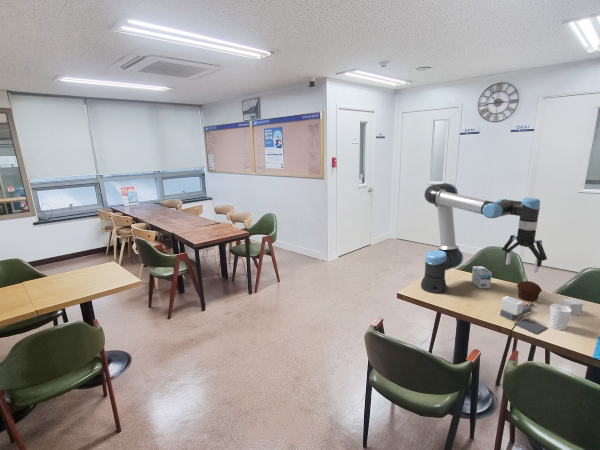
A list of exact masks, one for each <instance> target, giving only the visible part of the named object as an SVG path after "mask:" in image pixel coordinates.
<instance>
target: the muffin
mask: <svg viewBox="0 0 600 450" xmlns="http://www.w3.org/2000/svg"><path fill="white" fill-rule="evenodd" d="M516 287H517V290H518V291H517V295H518V296H517V297H518V299H520V301H523V302H527V301H528V303H530V302H531V303H535V302H537V301H538V299H539V295H540V293H541V292H542V291H543V290H542V288H541V287H540V286H539V284H537V283H536V282H533V281H531V280H530V281H529V280H523V281H520V282H519V283H518V284H517V285H516ZM534 301H535V302H534Z"/></svg>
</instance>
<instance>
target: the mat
mask: <svg viewBox="0 0 600 450" xmlns="http://www.w3.org/2000/svg"><path fill="white" fill-rule="evenodd" d="M513 325H514V326H516V327H518V326H519V328H521V329H523V328H524V329H523V330H525V329H526V330H525V331H527V330H528V331H527V332H530V333H532V334H535V335H537V334H540V333H542V332H543V331H545V330H547V329H548V327H547V326H546V325H543V324H540V323H538V322H536V321H533V320H531V319H529V318H526V317H524V318H522V319H520V320H518V321H516V322H514V323H513Z"/></svg>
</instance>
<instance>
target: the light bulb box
mask: <svg viewBox="0 0 600 450" xmlns="http://www.w3.org/2000/svg"><path fill="white" fill-rule="evenodd" d="M492 274H493V272H492V271H490V270H489V269H487V268H486V267H484V266H482V265H481V266H478V265H477V266H475V265H474V266H472V274H471V282H470V283H473V284H474V285H475V287H478V288H479V289H491V283H492V276H493V275H492Z"/></svg>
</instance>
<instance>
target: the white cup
mask: <svg viewBox="0 0 600 450" xmlns="http://www.w3.org/2000/svg"><path fill="white" fill-rule="evenodd" d="M571 311H572V310H571V309H570V308H569V307H566V306H564V305H561V304H560V303H559V304H558V303H552V304H550V307H549V317H548V325H549V326H550V327H551V328H552V329H554V330H559V331H565V330H567V327H568V324H569V321H570V318H571Z"/></svg>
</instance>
